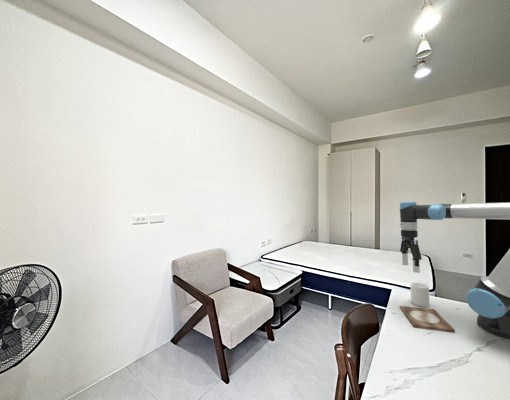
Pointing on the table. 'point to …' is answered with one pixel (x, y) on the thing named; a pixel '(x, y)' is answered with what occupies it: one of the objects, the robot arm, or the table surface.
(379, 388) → the table surface
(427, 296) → the mug
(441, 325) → the board
